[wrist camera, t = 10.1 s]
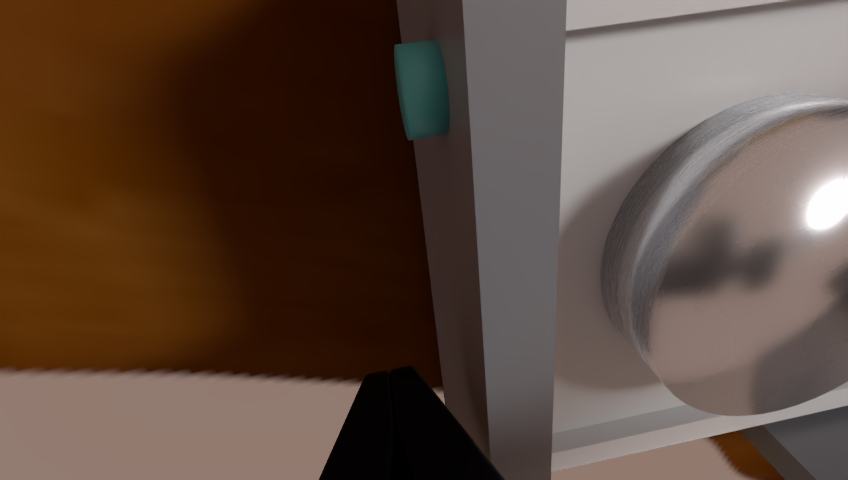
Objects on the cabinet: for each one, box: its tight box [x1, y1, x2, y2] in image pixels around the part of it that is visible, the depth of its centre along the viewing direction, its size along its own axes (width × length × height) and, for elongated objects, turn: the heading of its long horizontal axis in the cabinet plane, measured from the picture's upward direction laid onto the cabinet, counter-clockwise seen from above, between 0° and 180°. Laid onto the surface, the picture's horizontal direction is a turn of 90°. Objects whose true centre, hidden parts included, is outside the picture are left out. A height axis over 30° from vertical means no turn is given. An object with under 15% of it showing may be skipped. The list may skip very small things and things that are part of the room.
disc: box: [601, 92, 848, 416], centre depth 10 cm, size 7×7×2 cm
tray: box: [394, 0, 848, 480], centre depth 10 cm, size 14×15×6 cm
